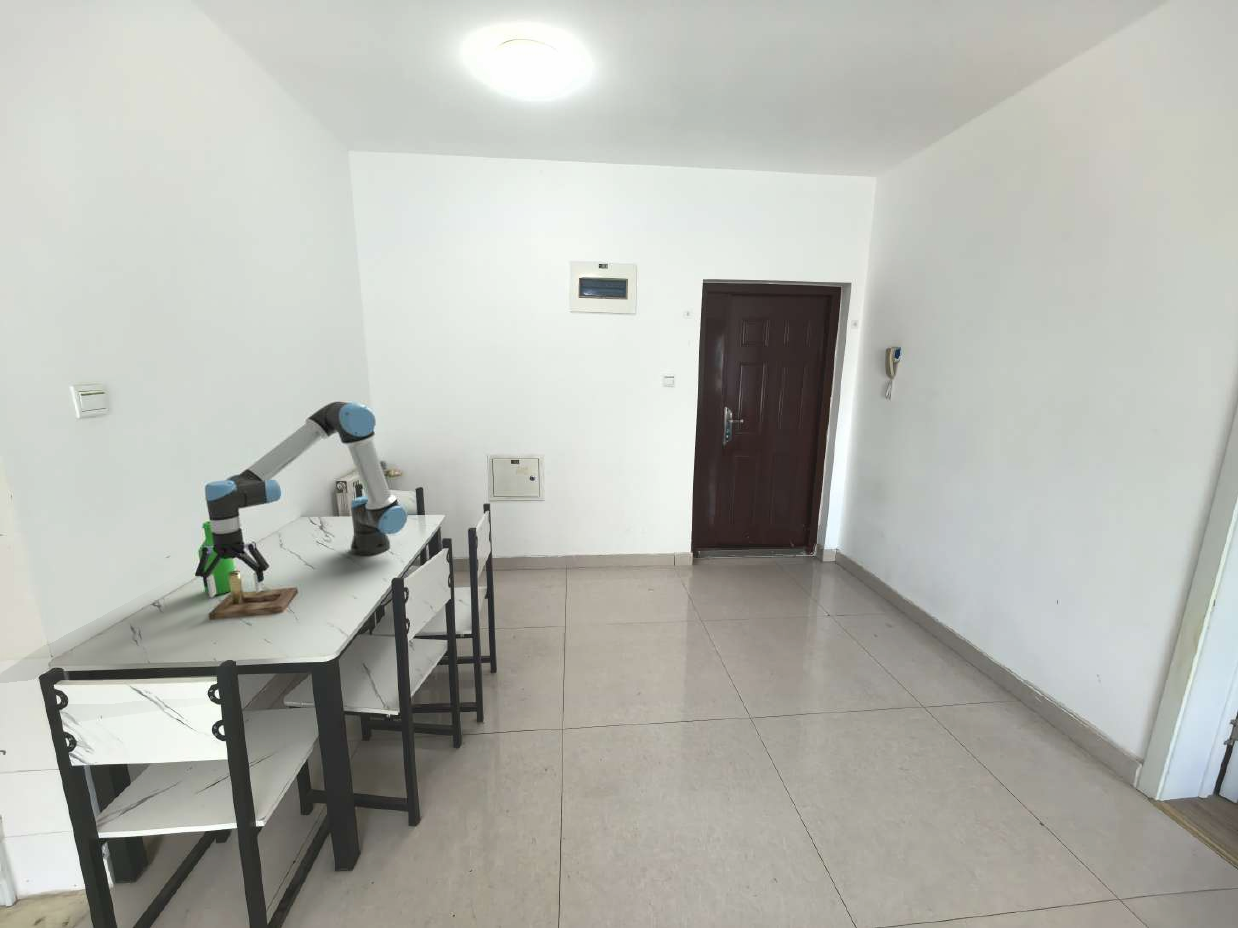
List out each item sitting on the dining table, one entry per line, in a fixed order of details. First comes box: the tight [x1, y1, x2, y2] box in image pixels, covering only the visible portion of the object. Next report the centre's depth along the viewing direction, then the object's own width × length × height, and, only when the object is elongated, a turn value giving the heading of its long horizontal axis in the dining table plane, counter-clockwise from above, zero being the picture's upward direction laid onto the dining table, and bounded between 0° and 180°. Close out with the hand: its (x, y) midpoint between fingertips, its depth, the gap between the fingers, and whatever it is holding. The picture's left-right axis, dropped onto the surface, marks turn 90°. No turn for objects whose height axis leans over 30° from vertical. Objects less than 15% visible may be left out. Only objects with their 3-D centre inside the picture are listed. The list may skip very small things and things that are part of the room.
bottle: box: [198, 520, 236, 596], centre depth 173 cm, size 9×9×25 cm
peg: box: [228, 570, 245, 605], centre depth 163 cm, size 3×3×12 cm
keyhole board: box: [208, 586, 299, 621], centre depth 165 cm, size 20×14×2 cm
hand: (236, 593), depth 163 cm, fingers open, 12 cm apart
